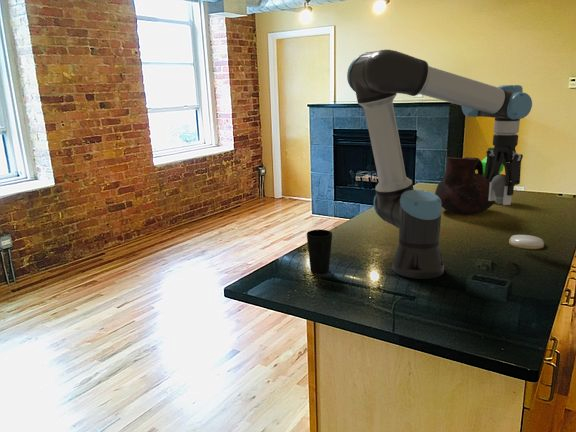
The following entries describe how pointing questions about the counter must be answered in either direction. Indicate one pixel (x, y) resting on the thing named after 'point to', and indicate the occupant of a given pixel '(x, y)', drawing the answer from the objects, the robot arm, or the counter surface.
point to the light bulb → (499, 187)
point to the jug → (464, 187)
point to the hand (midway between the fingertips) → (499, 202)
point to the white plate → (526, 242)
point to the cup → (319, 250)
